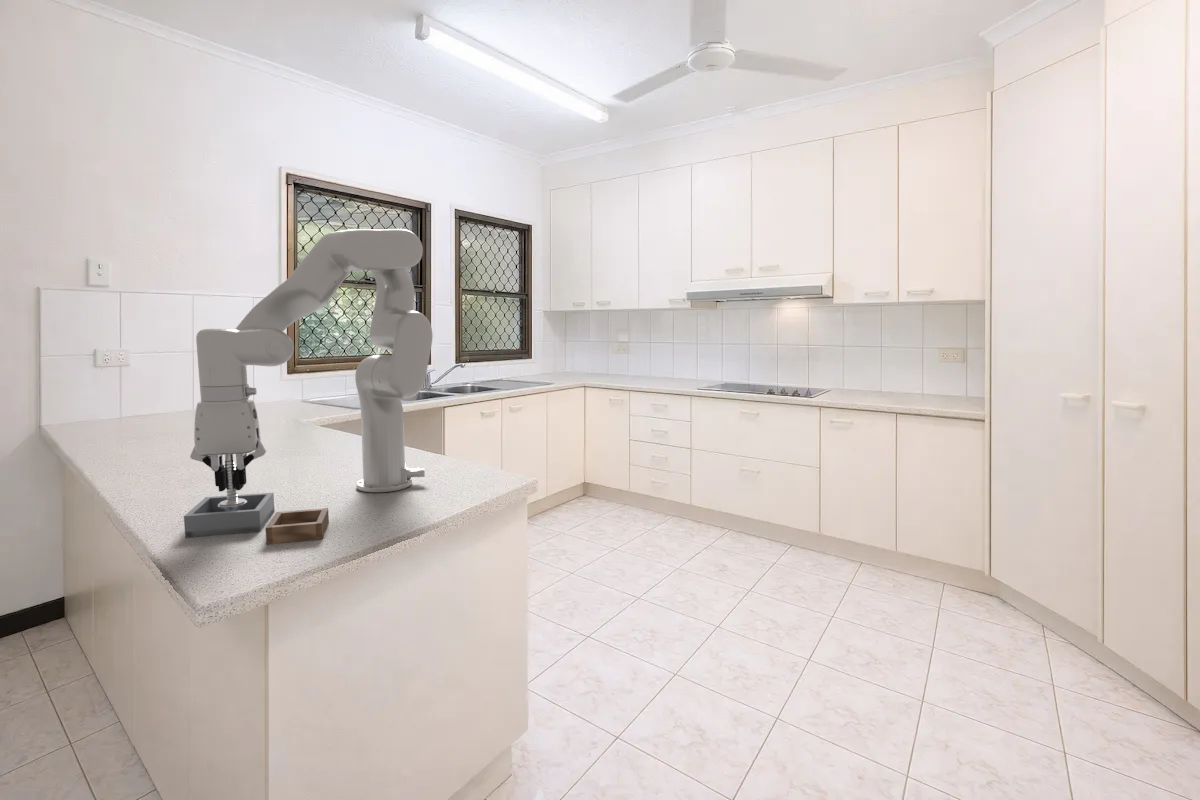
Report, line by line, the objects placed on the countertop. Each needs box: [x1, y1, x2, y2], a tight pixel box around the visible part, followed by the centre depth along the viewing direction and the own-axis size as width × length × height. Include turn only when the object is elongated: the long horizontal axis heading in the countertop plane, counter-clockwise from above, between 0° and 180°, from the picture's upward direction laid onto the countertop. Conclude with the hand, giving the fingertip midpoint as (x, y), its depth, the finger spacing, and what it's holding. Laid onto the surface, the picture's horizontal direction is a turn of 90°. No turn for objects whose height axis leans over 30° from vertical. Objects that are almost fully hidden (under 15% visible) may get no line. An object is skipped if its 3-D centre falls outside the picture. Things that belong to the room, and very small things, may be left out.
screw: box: [218, 454, 247, 512], centre depth 110 cm, size 13×5×5 cm
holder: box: [265, 507, 330, 545], centre depth 106 cm, size 9×9×3 cm
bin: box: [183, 492, 275, 539], centre depth 111 cm, size 12×12×4 cm
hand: (231, 488), depth 110 cm, fingers closed
